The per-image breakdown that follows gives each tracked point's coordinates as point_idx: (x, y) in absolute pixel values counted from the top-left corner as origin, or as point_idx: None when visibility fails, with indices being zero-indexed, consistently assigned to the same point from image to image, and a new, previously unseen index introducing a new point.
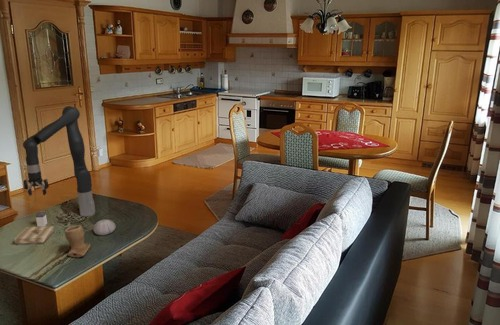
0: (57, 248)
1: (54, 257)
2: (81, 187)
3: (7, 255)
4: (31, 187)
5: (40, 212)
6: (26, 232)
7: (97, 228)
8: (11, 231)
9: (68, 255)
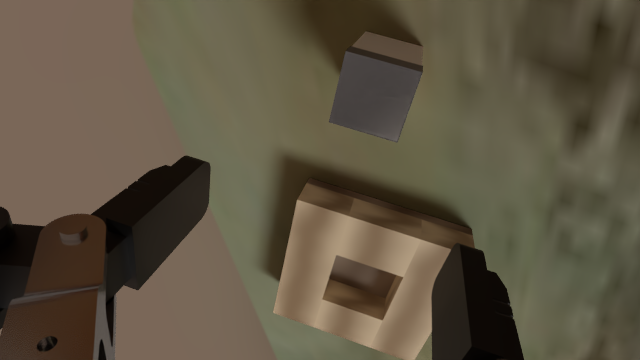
0: None
1: None
2: None
3: (282, 350)
4: (104, 258)
5: (367, 64)
6: (315, 271)
7: None
8: (203, 113)
9: None
